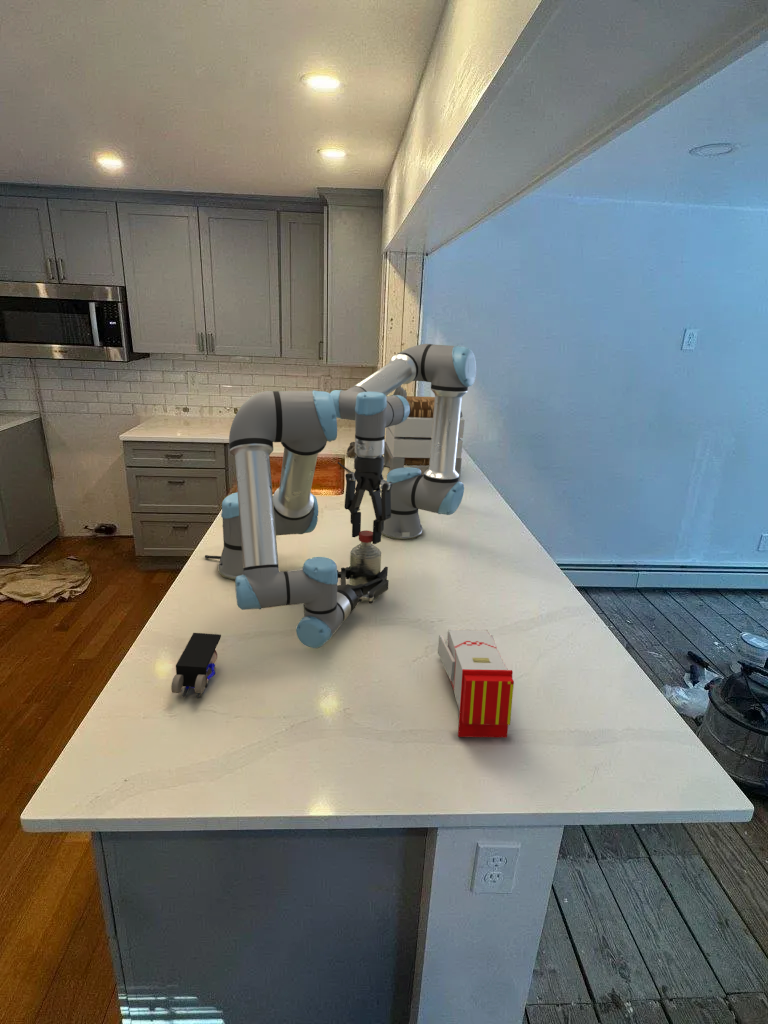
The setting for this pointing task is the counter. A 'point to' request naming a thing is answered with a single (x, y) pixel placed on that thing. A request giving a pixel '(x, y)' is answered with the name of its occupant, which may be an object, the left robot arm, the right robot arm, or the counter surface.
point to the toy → (478, 682)
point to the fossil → (351, 450)
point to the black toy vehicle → (196, 663)
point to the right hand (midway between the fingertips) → (366, 539)
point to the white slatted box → (415, 435)
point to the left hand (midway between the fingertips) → (371, 568)
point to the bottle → (364, 564)
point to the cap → (366, 536)
